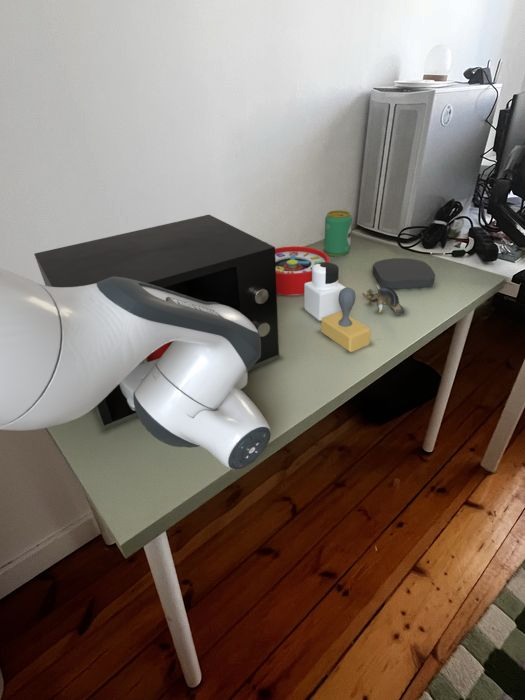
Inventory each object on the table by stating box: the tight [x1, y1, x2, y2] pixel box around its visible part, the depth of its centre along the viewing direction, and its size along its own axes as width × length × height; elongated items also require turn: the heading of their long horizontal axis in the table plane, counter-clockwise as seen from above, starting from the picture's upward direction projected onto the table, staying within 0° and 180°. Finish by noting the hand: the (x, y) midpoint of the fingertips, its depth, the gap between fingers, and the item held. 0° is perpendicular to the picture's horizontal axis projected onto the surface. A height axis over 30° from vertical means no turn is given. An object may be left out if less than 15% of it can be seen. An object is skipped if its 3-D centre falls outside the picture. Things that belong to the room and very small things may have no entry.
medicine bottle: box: [303, 261, 347, 322], centre depth 102 cm, size 7×7×12 cm
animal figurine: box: [362, 284, 406, 316], centre depth 103 cm, size 8×7×9 cm
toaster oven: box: [33, 214, 280, 431], centre depth 84 cm, size 36×27×24 cm
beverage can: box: [323, 209, 353, 257], centre depth 134 cm, size 8×8×12 cm
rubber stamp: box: [320, 287, 372, 353], centre depth 91 cm, size 10×6×12 cm, turn 31°
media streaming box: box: [372, 257, 436, 289], centre depth 118 cm, size 15×15×3 cm
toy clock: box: [275, 245, 330, 296], centre depth 120 cm, size 20×6×20 cm
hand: (165, 348), depth 77 cm, fingers open, 8 cm apart
